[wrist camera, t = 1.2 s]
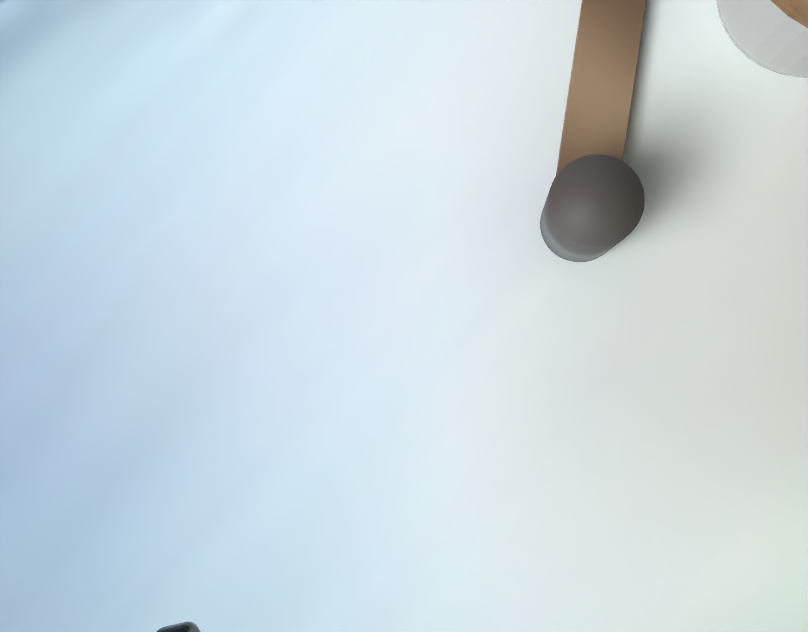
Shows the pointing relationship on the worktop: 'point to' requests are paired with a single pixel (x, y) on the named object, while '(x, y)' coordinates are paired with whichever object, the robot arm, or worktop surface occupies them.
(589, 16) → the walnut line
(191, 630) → the robot arm
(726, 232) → the worktop surface
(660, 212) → the worktop surface
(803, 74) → the coffee cup
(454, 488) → the worktop surface
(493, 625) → the worktop surface
